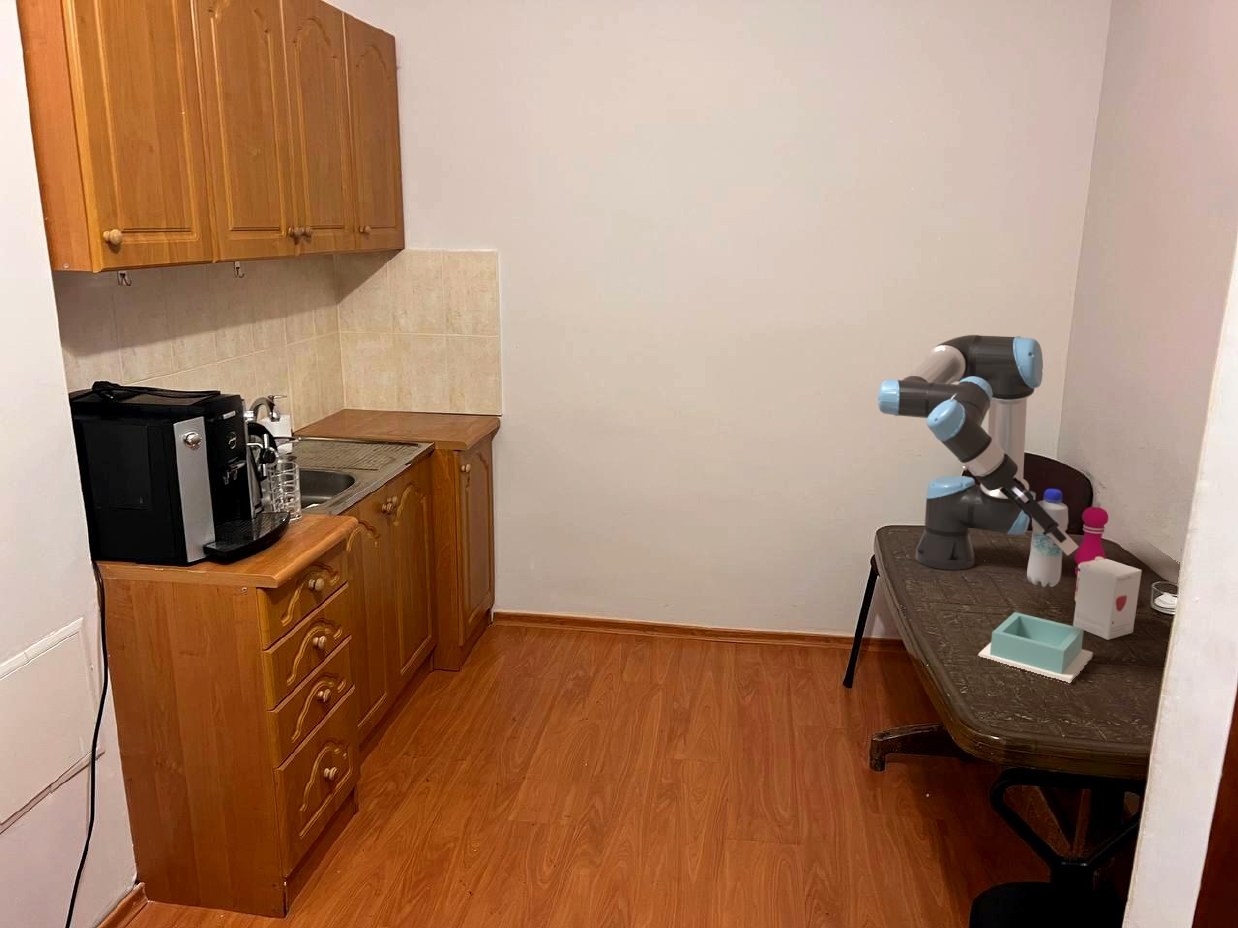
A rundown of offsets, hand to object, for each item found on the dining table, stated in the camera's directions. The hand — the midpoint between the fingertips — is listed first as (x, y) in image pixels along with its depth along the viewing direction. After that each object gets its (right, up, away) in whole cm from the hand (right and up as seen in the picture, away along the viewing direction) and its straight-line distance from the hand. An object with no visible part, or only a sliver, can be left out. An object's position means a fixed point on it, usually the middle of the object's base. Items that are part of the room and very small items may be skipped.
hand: (1065, 544), depth 187 cm
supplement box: (+18, -21, +21) cm, 35 cm away
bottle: (-4, -8, +2) cm, 9 cm away
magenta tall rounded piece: (+32, -13, +54) cm, 64 cm away
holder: (-3, -24, +6) cm, 25 cm away
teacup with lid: (+24, -18, +34) cm, 45 cm away
